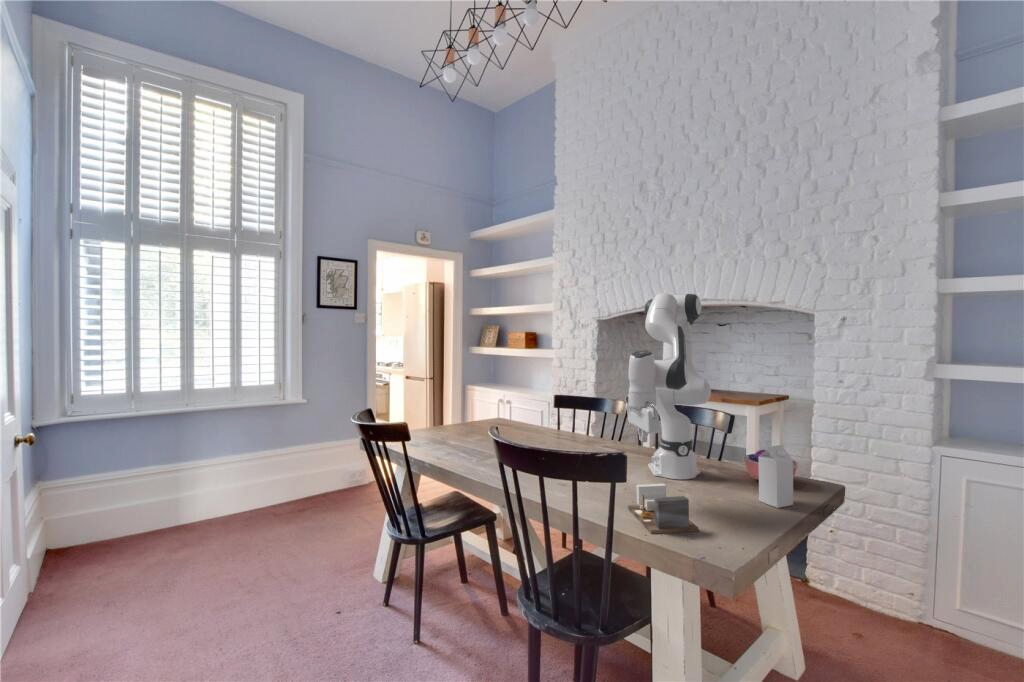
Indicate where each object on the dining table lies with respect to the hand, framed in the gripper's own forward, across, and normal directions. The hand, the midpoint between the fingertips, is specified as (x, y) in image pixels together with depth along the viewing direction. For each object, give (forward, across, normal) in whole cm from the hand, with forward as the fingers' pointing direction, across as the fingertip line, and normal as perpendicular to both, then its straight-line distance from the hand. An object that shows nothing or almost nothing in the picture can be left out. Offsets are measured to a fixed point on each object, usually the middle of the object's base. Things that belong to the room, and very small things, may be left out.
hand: (643, 441), depth 161 cm
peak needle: (+19, -15, +5) cm, 25 cm away
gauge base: (+20, -14, 0) cm, 25 cm away
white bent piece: (+19, -10, 0) cm, 22 cm away
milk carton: (+21, -7, -42) cm, 47 cm away
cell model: (+21, +14, -54) cm, 59 cm away
